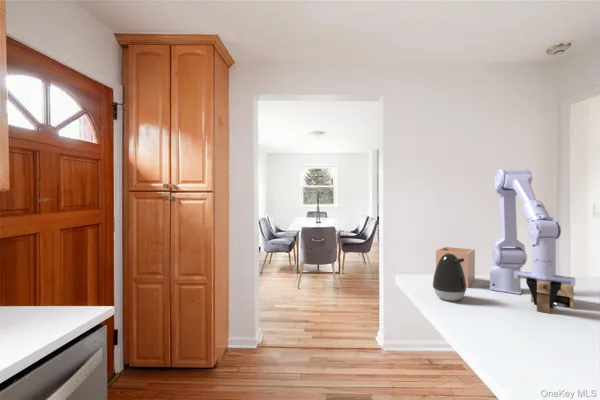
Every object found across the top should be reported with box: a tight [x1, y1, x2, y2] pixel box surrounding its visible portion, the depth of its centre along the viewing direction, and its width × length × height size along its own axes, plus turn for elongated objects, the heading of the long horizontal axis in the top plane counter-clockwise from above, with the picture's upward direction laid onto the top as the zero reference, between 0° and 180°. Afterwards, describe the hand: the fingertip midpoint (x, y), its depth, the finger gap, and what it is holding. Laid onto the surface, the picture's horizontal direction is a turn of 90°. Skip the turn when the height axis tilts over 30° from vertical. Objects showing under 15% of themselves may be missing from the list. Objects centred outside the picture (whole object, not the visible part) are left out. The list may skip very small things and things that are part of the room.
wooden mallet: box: [536, 292, 568, 314], centre depth 102 cm, size 7×16×5 cm, turn 141°
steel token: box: [553, 300, 568, 308], centre depth 103 cm, size 4×4×1 cm
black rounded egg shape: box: [432, 253, 467, 302], centre depth 110 cm, size 10×10×15 cm
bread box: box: [530, 275, 574, 310], centre depth 106 cm, size 10×10×8 cm
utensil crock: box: [435, 246, 476, 289], centre depth 131 cm, size 12×12×13 cm
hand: (543, 305), depth 98 cm, fingers closed on wooden mallet, 3 cm apart
